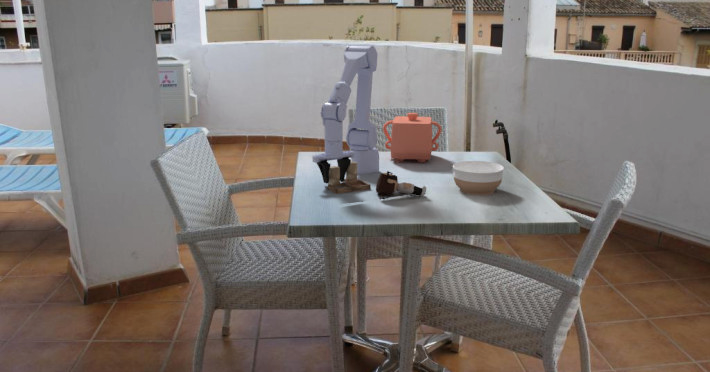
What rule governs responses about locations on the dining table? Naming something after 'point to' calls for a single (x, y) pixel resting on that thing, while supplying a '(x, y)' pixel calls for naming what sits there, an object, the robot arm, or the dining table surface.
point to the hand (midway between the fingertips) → (333, 181)
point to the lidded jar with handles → (411, 137)
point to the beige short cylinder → (351, 172)
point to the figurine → (396, 186)
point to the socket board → (349, 187)
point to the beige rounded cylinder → (334, 175)
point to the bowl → (477, 177)
